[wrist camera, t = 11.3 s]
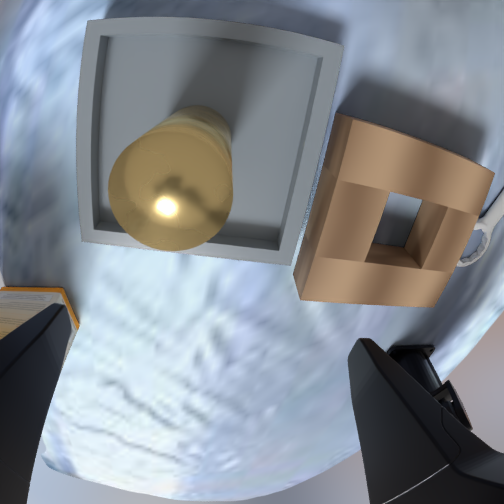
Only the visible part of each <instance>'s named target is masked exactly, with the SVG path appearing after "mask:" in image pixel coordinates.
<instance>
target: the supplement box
mask: <svg viewBox="0 0 504 504" xmlns="http://www.w3.org/2000/svg"><path fill="white" fill-rule="evenodd" d="M53 303H60V304H64V305H66V307H67V309H68V313H69V317H70V321H71V326H72V329H71V334H70V337H69V341H68V345H67V349H66V353H65V357H64V361H63V365H64V362H65V360H66V357H67V355H68V352H69V350H70V347H71V345H72V343H73V340H74V338H75V336H76V333H77V331H78V329H79V323H78V321H77V319H76V316H75V314H74V312H73V310H72V307H71V305H70V303H69V300H68V298H67V295H66V293H65V291H64V289H63V288H40V287H39V288H38V287H2V288H1V289H0V339H2V338H3V337H4V336H6V335H7V334H9V333H10V332H11V331H13V330H14V329H16V328H17V327H19V326H20V325H21V324H23V323H24V322H26V321H27V320H29V319H30V318H32V317H33V316H35V315H36V314H37V313H39V312H40V311H42V310H43V309H45V308H46V307H48V306H49V305H51V304H53ZM63 365H62V368H63ZM61 370H62V369H61Z"/></svg>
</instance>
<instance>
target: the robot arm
mask: <svg viewBox="0 0 504 504" xmlns="http://www.w3.org/2000/svg"><path fill="white" fill-rule="evenodd" d="M71 329H72V326H71V321H70V317H69V313H68V309H67V307H66V305H64V304H60V303H53V304H51V305H49V306H48V307H46V308H45V309H43V310H42V311H40V312H39V313H37V314H36V315H35V316H33V317H32V318H30V319H29V320H27V321H26V322H24V323H23V324H21V325H20V326H19V327H17V328H16V329H14V330H13V331H11V332H10V333H9V334H7V335H6V336H4V337H3V338H2V339H0V504H27V498H28V492H29V487H30V481H31V475H32V471H33V466H34V462H35V458H36V453H37V449H38V445H39V441H40V437H41V434H42V430H43V427H44V423H45V420H46V416H47V413H48V410H49V406H50V403H51V400H52V397H53V394H54V391H55V388H56V385H57V382H58V379H59V376H60V373H61V369H62V365H63V361H64V357H65V353H66V349H67V345H68V341H69V337H70V334H71ZM434 350H435V347H434V345H421V346H399V347H392V348H391V349H390V350H389V351H388V353H386V352H385V351H384V350H383V349H382V348H380V347H379V346H378V345H377V344H376V343H375V342H374V341H373V340H372V339H370V338H359V339H358V340H357V341H356V343H355V345H354V346H353V348H352V350H351V352H350V354H349V356H348V369H349V378H350V388H351V398H352V405H353V410H354V415H355V420H356V425H357V430H358V435H359V441H360V446H361V451H362V457H363V463H364V468H365V475H366V481H367V487H368V493H369V500H370V504H504V453H500V452H498V451H496V450H494V449H492V448H491V447H490V446H488V445H487V444H486V443H485V442H483V441H482V440H481V439H479V438H478V437H477V436H476V435H475V434H473V433H472V432H471V430H472V429H473V428H472V425H471V423H470V420H469V418H468V415H467V413H466V410H465V408H464V406H463V404H462V402H461V400H460V398H459V396H458V394H457V392H456V390H455V389H454V387H453V385H452V384H451V382H450V381H449V380H447V381H446V382H445V383H444V384H443V385H442V383H441V381H440V379H439V377H438V375H437V373H436V371H435V369H434V367H433V365H432V363H431V361H430V359H429V357H430V355H431V354H432V353H433V351H434ZM451 400H453V402H450V401H451Z"/></svg>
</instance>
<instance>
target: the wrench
mask: <svg viewBox="0 0 504 504" xmlns="http://www.w3.org/2000/svg"><path fill="white" fill-rule="evenodd" d="M503 215H504V189H503V191H502V192H501V194H500V195H499V196H498V198H497V199H496V201H495V202H494V203H493V205H492V206H491V207H490V209H489V210H488V211H487V213H486V214H485V215H484V217H483V218H481V219H478V220H477V222H476V224H475V227H474V229H473V230H478V229H482V231H483V233H484V234H483V236H482V243H481V244H480V245H479V246H478V248H477V251H476V252H475V253H473V254H472V255H471V256H470V257H469V258H464V259H462V260H460V259H459V261H458V263H457V265H456V266H458V267H464V266H468V265H470V264H472V263H474V262H476V261H477V260H478V259H479V258H480V257H481V256H482V255H483V254H484V253H485V251H486V250H487V248H488V246H489V243H490V240H491V234H492V231H493V229H494V227H495V225H496V224H497V223H498V221H499V220H500V219H501V217H502V216H503Z"/></svg>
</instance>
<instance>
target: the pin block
mask: <svg viewBox="0 0 504 504" xmlns="http://www.w3.org/2000/svg"><path fill="white" fill-rule="evenodd" d="M494 174H495V173H494V172H492V171H490V170H489V169H487V168H485V167H483V166H481V165H480V164H478V163H476V162H474V161H472V160H470V159H468V158H466V157H464V156H461V155H459V154H457V153H454V152H452V151H450V150H447V149H445V148H442V147H440V146H437V145H435V144H432V143H430V142H427V141H425V140H422V139H419V138H417V137H414V136H411V135H408V134H405V133H403V132H400V131H397V130H394V129H391V128H388V127H385V126H382V125H378V124H375V123H372V122H369V121H365V120H362V119H358V118H355V117H351V116H348V115H344V114H340V113H335V117H334V121H333V126H332V130H331V134H330V138H329V142H328V146H327V151H326V155H325V159H324V163H323V167H322V170H321V174H320V178H319V182H318V186H317V190H316V194H315V197H314V201H313V205H312V209H311V212H310V216H309V220H308V223H307V227H306V230H305V234H304V238H303V241H302V245H301V248H300V252H299V255H298V259H297V262H296V266H295V269H294V272H293V276H294V280H295V283H296V287H297V290H298V294H299V298H300V300H305V301H319V302H333V303H349V304H366V305H386V306H408V307H434V306H435V304H436V303H437V301H438V299H439V297H440V296H441V294H442V292H443V290H444V288H445V287H446V285H447V283H448V281H449V279H450V277H451V275H452V273H453V271H454V269H455V267H456V265H457V263H458V261H459V259H460V257H461V255H462V253H463V251H464V249H465V247H466V245H467V243H468V240H469V238H470V236H471V234H472V231H473V229H474V227H475V224H476V222H477V220H478V217H479V215H480V212H481V210H482V207H483V205H484V202H485V200H486V197H487V194H488V191H489V189H490V186H491V183H492V180H493V177H494ZM390 192H394V193H398V194H402V195H406V196H410V197H414V198H418V199H422V200H423V201H422V204H421V206H420V209H419V212H418V214H417V217H416V219H415V222H414V225H413V227H412V230H411V232H410V235H409V237H408V239H407V242H406V244H405V247H404V248H403V247H397V246H390V245H384V244H377V243H372V241H373V238H374V235H375V233H376V230H377V227H378V225H379V222H380V219H381V216H382V214H383V211H384V208H385V205H386V202H387V199H388V196H389V193H390Z"/></svg>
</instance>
